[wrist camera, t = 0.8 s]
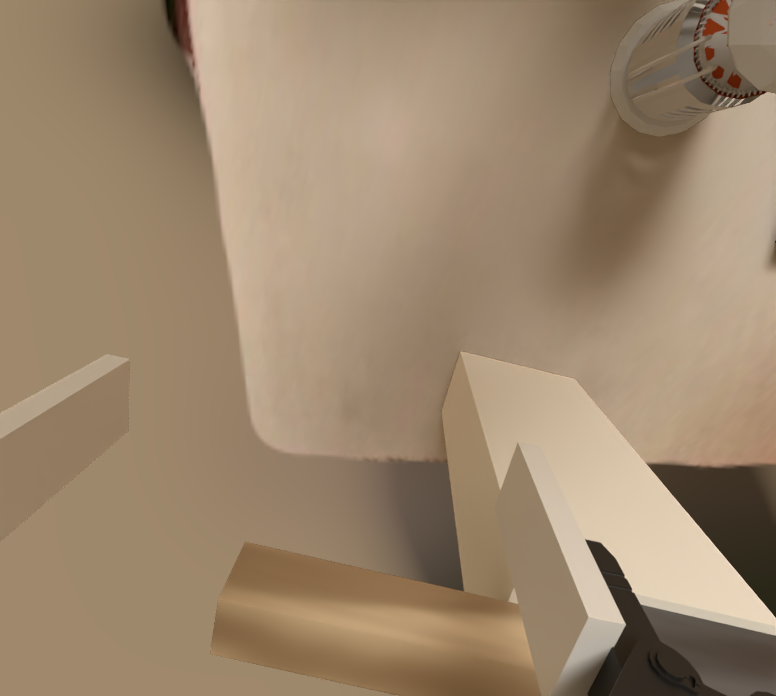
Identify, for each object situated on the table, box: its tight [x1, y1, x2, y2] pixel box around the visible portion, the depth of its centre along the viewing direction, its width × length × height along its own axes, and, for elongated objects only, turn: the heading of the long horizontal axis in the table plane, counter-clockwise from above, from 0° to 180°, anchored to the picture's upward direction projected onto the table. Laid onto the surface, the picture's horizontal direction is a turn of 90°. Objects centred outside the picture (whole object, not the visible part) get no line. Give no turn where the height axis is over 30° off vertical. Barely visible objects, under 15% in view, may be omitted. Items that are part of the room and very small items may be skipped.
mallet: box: [210, 542, 776, 696], centre depth 18 cm, size 6×24×6 cm, turn 77°
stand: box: [441, 351, 776, 636], centre depth 34 cm, size 7×12×28 cm, turn 76°
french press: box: [610, 0, 776, 137], centre depth 26 cm, size 10×12×25 cm
